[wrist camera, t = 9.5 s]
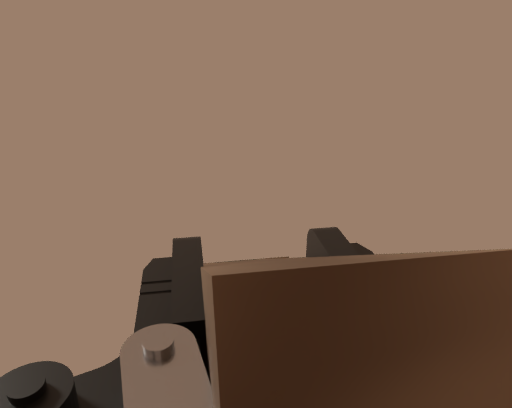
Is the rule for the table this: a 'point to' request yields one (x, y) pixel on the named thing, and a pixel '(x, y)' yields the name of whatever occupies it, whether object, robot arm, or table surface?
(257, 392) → the walnut T-handle
